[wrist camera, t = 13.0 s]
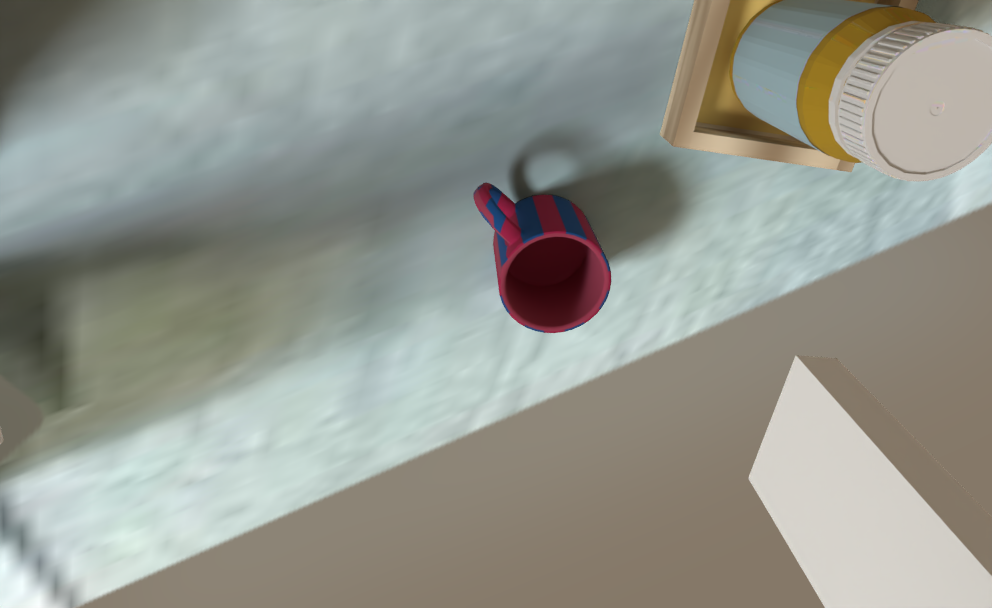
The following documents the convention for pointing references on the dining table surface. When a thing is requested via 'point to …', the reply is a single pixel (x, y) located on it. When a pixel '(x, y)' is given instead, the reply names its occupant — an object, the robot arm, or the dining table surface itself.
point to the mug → (545, 260)
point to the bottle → (869, 84)
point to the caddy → (730, 92)
